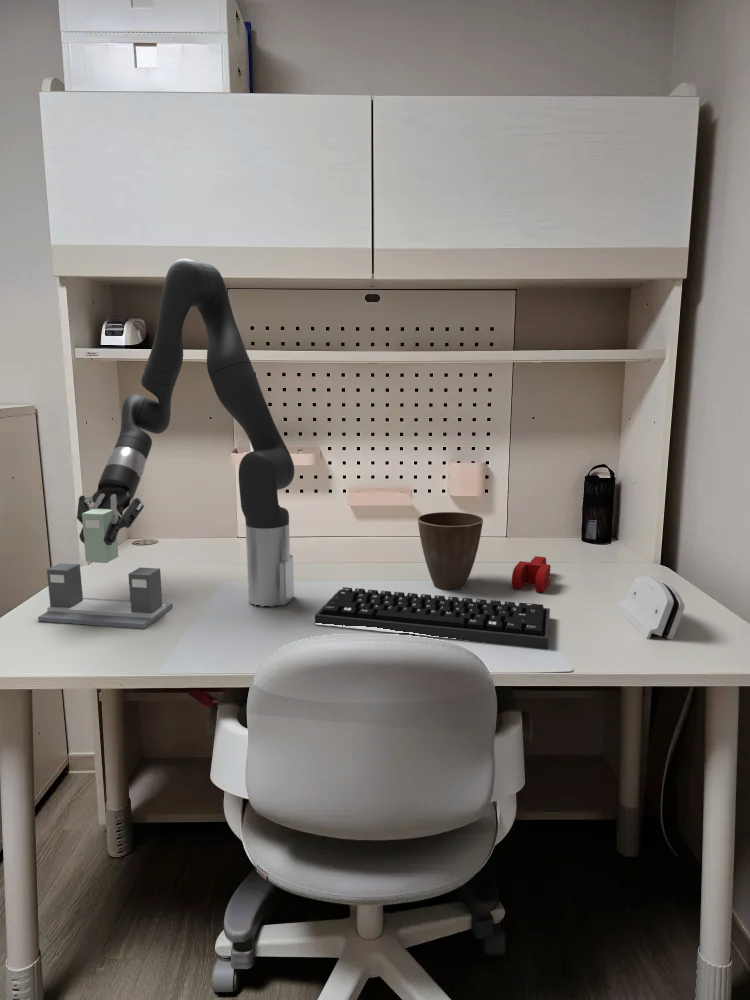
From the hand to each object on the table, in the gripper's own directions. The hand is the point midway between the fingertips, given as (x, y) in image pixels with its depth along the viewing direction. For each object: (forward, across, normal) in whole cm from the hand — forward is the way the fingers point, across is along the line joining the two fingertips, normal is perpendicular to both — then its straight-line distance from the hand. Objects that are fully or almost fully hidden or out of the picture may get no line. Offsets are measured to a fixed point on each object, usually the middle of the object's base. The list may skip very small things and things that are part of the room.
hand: (95, 542), depth 137 cm
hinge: (0, +110, +22) cm, 112 cm away
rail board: (+10, 0, +13) cm, 16 cm away
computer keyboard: (+5, +67, +18) cm, 70 cm away
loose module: (+2, 0, +4) cm, 4 cm away
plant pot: (-12, +69, +34) cm, 78 cm away
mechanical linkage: (-16, +89, +38) cm, 98 cm away
